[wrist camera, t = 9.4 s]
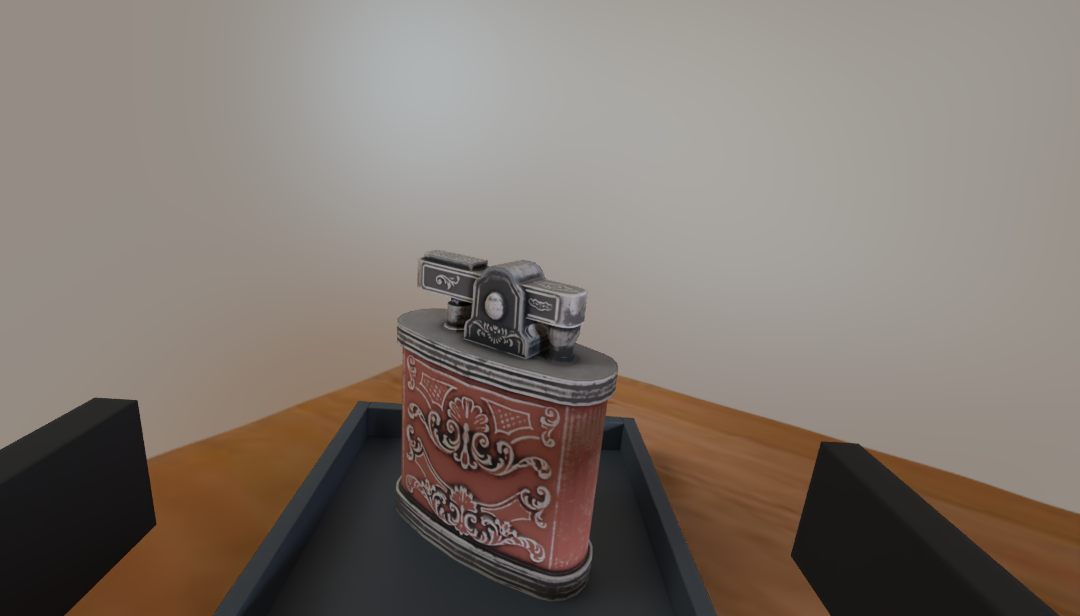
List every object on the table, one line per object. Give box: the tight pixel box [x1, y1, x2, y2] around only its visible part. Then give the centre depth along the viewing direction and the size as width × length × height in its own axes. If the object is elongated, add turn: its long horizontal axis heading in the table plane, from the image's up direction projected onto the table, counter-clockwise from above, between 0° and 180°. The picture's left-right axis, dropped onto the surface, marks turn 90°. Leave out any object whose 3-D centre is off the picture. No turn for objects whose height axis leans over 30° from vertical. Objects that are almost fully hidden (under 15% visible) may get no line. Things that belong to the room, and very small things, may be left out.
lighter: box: [396, 250, 618, 602], centre depth 17 cm, size 8×3×10 cm, turn 57°
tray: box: [213, 401, 717, 616], centre depth 18 cm, size 13×13×2 cm
